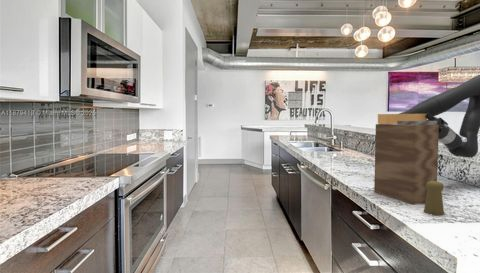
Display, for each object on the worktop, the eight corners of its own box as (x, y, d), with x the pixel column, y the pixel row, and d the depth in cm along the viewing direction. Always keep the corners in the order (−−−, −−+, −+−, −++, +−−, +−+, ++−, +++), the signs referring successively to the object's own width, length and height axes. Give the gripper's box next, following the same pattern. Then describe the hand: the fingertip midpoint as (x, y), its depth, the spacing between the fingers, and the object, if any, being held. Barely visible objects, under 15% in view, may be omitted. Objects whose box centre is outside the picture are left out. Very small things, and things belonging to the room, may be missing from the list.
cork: (441, 210, 110) (442, 180, 109) (446, 216, 104) (447, 183, 103) (421, 209, 112) (422, 179, 111) (425, 214, 106) (427, 182, 105)
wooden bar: (385, 123, 127) (386, 114, 126) (377, 123, 131) (377, 114, 130) (426, 123, 134) (426, 113, 133) (417, 122, 138) (417, 113, 137)
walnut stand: (412, 204, 118) (415, 121, 115) (374, 192, 137) (375, 120, 134) (436, 201, 121) (439, 120, 119) (395, 189, 140) (397, 120, 138)
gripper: (430, 124, 147) (408, 107, 142) (460, 125, 133) (436, 106, 128) (424, 138, 146) (401, 121, 141) (453, 141, 132) (428, 122, 128)
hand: (417, 114), depth 135 cm, fingers open, 8 cm apart
